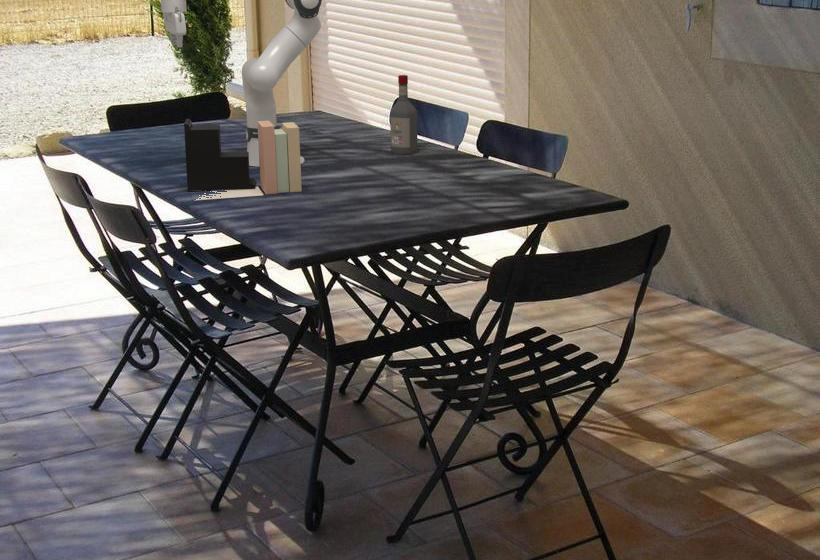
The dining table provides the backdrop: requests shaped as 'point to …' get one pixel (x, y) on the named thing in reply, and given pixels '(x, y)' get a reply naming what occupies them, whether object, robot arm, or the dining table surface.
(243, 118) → the dining table surface
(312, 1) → the robot arm
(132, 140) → the dining table surface
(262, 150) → the book row
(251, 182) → the black drawer cabinet
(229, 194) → the cream mat
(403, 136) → the liquor
